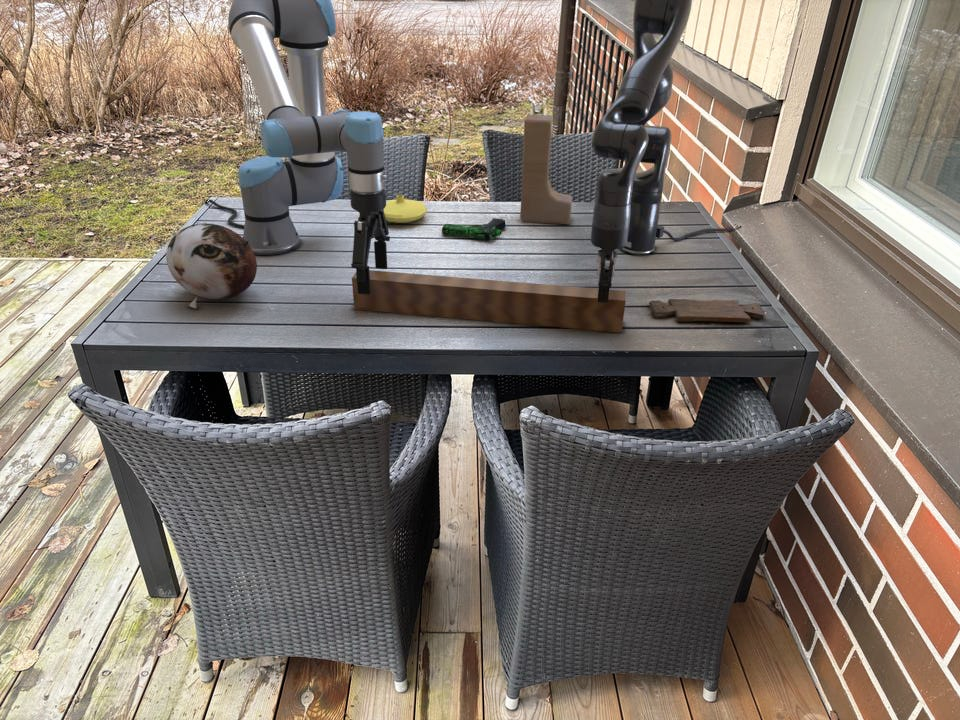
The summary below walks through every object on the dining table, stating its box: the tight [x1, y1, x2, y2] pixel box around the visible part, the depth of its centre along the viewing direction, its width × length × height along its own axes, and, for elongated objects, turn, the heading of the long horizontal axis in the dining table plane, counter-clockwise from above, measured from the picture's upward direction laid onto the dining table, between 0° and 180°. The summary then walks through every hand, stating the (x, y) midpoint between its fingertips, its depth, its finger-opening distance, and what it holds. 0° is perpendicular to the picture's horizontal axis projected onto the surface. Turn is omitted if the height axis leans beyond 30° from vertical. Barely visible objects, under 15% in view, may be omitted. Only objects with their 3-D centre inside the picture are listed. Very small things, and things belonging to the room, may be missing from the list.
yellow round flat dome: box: [384, 194, 428, 224], centre depth 214 cm, size 16×16×7 cm
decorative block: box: [519, 114, 573, 225], centre depth 210 cm, size 8×15×30 cm, turn 82°
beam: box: [351, 269, 627, 334], centre depth 160 cm, size 61×5×8 cm, turn 81°
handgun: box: [441, 217, 506, 242], centre depth 207 cm, size 16×3×15 cm
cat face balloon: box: [165, 222, 258, 309], centre depth 165 cm, size 22×18×20 cm
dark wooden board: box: [648, 298, 765, 323], centre depth 164 cm, size 26×2×10 cm
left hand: (373, 280), depth 163 cm, fingers open, 13 cm apart
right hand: (602, 293), depth 155 cm, fingers open, 8 cm apart
